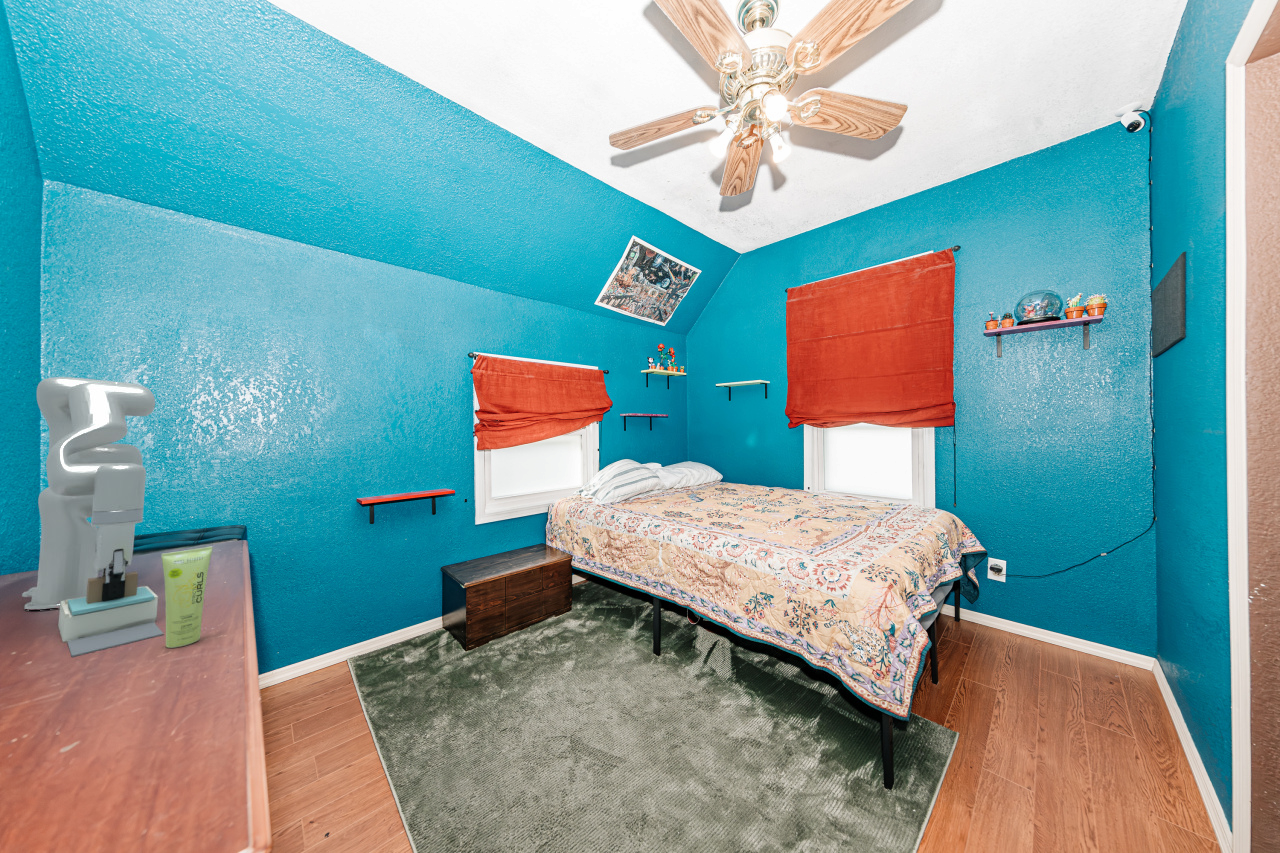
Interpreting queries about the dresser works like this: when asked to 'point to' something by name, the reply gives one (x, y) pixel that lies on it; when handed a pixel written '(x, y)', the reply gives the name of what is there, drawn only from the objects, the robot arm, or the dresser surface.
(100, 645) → the mat
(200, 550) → the tube
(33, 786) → the dresser surface
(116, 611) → the box
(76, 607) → the lid
